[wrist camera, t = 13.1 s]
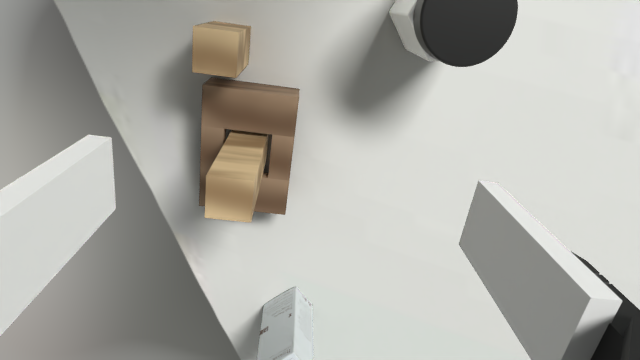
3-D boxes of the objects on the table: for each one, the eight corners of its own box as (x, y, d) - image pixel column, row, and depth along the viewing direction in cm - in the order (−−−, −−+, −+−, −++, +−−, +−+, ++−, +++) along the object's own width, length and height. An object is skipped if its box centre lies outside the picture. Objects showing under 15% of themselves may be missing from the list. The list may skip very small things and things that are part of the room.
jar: (476, -29, 44) (533, -39, 33) (464, 51, 47) (513, 67, 36) (391, -31, 44) (420, -41, 33) (385, 50, 47) (410, 66, 36)
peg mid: (213, 21, 45) (192, 25, 37) (250, 26, 45) (238, 32, 37) (212, 59, 47) (192, 72, 38) (248, 64, 47) (236, 77, 39)
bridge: (211, 77, 47) (202, 84, 43) (299, 88, 48) (298, 97, 44) (207, 189, 53) (199, 205, 49) (286, 198, 54) (285, 214, 50)
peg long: (235, 123, 50) (206, 175, 35) (269, 127, 50) (254, 180, 35) (233, 154, 51) (204, 217, 36) (266, 158, 51) (250, 222, 37)
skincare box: (295, 284, 59) (293, 350, 48) (314, 304, 61) (316, 373, 49) (261, 305, 60) (251, 374, 49) (280, 324, 62) (275, 396, 51)
